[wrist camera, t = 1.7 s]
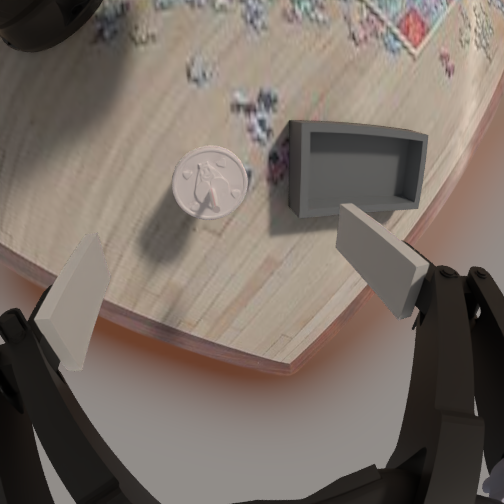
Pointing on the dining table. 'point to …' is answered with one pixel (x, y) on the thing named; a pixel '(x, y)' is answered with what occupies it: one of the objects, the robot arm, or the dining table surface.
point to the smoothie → (209, 182)
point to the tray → (353, 167)
